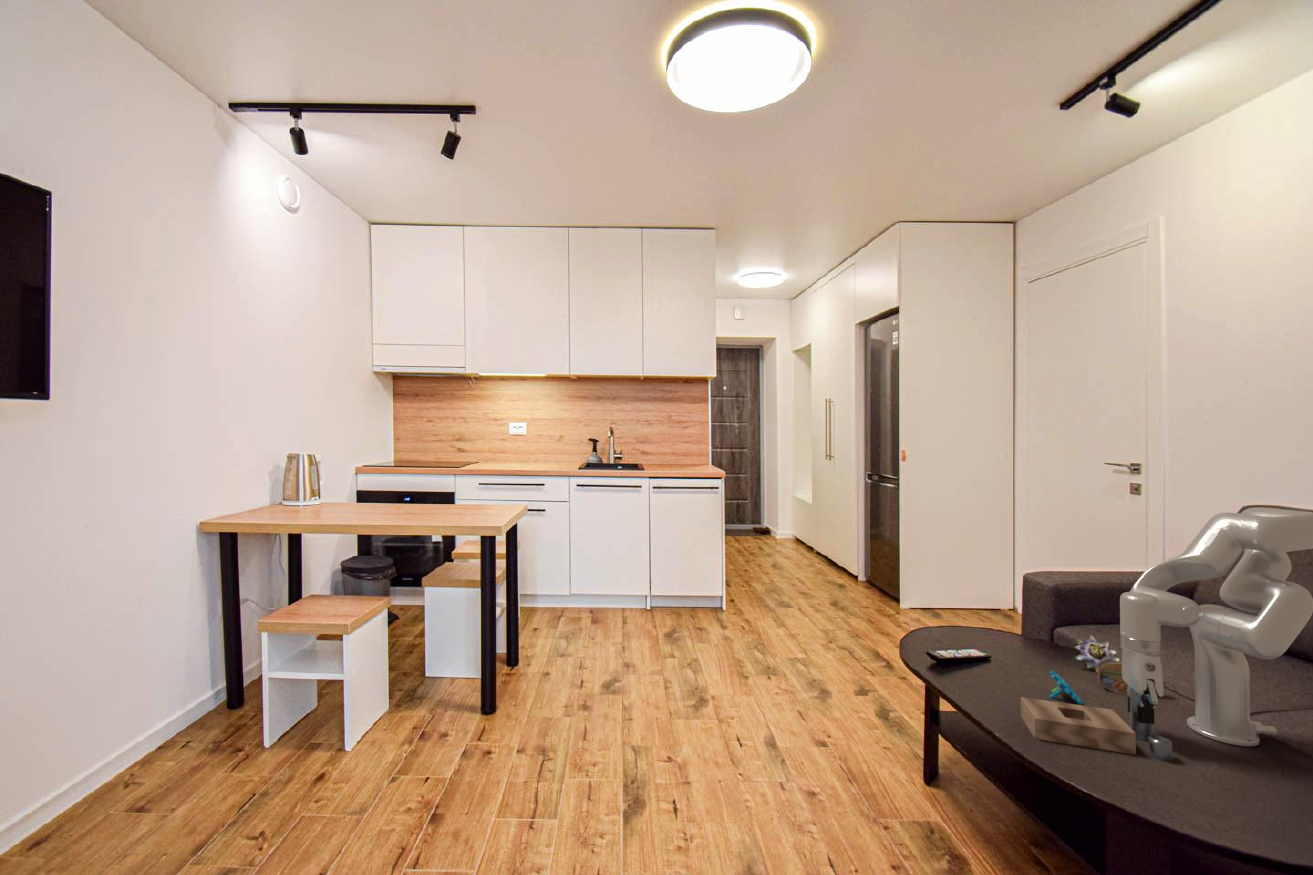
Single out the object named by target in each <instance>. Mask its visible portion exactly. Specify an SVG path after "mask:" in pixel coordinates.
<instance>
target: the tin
mask: <svg viewBox="0 0 1313 875" xmlns="http://www.w3.org/2000/svg"><path fill="white" fill-rule="evenodd" d="M1096 674H1097V675H1096V676H1097V678H1098V680H1099V682H1100V684H1102V686H1103V687H1104V688H1105V689H1107V690H1109V691H1110V692H1113V693H1116V694H1117V693H1118V694H1123V695H1127V686H1126V685H1127V683H1126V682H1125V681H1124V680H1123V678H1122V662H1119V661H1118V662H1106V663H1103V664H1102V665H1100V667H1099V668H1098V671H1097V672H1096ZM1163 686H1164V687H1165V680H1164V679H1163Z"/></svg>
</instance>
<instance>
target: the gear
mask: <svg viewBox="0 0 1313 875" xmlns="http://www.w3.org/2000/svg"><path fill="white" fill-rule="evenodd" d="M1048 673H1049V674H1050V675H1051V677H1052V679H1054V680H1055V682H1056V683H1057V686H1056V687H1055V688H1054V689H1052V690H1051V692H1052V693H1051V694H1050V695H1049V697H1050V698H1051V699H1055V698H1057V697H1058V696H1060V695H1061V694H1065V693H1066V695H1070V697H1071V699H1072V700H1074V701H1075V702H1076V703H1077V705H1083V703H1084V701H1083V700H1082V699H1081V697H1080V696H1079V695H1077V693H1076V692H1075V690H1074V689H1072V687H1071V685H1070V684H1069V683H1067V682H1066V681H1065V679H1063V678H1062V677H1061V676H1060V675H1059V674H1058V673H1056V672H1055V671H1054V670H1051V671H1050V672H1048Z"/></svg>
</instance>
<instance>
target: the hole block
mask: <svg viewBox="0 0 1313 875" xmlns="http://www.w3.org/2000/svg"><path fill="white" fill-rule="evenodd" d="M1020 717H1021V719H1022V720H1023V722H1024V723H1025V725H1026V727H1027V728H1028V730H1029V731H1030V733H1031V735H1032V737H1033V738H1034V740H1039V741H1047V742H1052V743H1059V744H1065V745H1071V746H1072V745H1073V746H1077V747H1078V746H1079V747H1084V748H1091V749H1096V750H1097V749H1098V750H1104V751H1110V752H1117V753H1121V754H1129V755H1137V744H1136V743H1137V742H1136V741H1137V739H1136V733H1135V732H1134V731H1133V730H1132V729H1131V728H1130V725H1128V723H1126V722H1125V721H1124V720H1123V718H1121V717H1120V715H1119V714H1118V713H1116V712H1115V710H1113V709H1109V708H1103V707H1096V706H1088V705H1083V704H1081V705H1079V704H1074V703H1068V702H1066V703H1065V702H1059V701H1051V700H1045V699H1044V700H1043V699H1038V698H1032V697H1031V698H1029V697H1023V696H1020Z"/></svg>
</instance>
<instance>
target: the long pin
mask: <svg viewBox="0 0 1313 875" xmlns="http://www.w3.org/2000/svg"><path fill="white" fill-rule="evenodd" d="M1143 693H1147V694H1148V692H1147V691H1143ZM1129 697H1130V713H1129V724H1130V725H1129V727H1130V728H1131V729H1132V730H1133V731H1134V732H1135V733H1136V740H1138V741H1142V742H1149V735H1153V728H1152V727H1153V724H1147V723H1140V722H1138V721H1137V705H1139V701H1138V693H1137V692H1136V691H1135V690H1134V689H1132V688H1131V687H1130V696H1129ZM1145 698H1146V699H1147V698H1148V697H1145V696H1143V700H1144V699H1145Z"/></svg>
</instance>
